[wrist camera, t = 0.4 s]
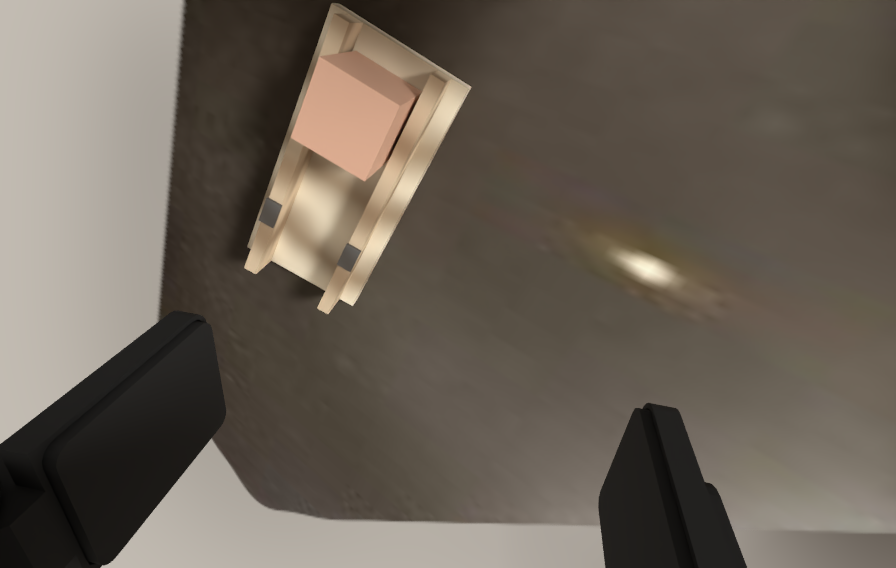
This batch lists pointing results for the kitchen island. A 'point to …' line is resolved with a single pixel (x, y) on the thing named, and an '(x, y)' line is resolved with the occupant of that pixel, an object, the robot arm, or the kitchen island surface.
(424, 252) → the kitchen island surface
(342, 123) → the block
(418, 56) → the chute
